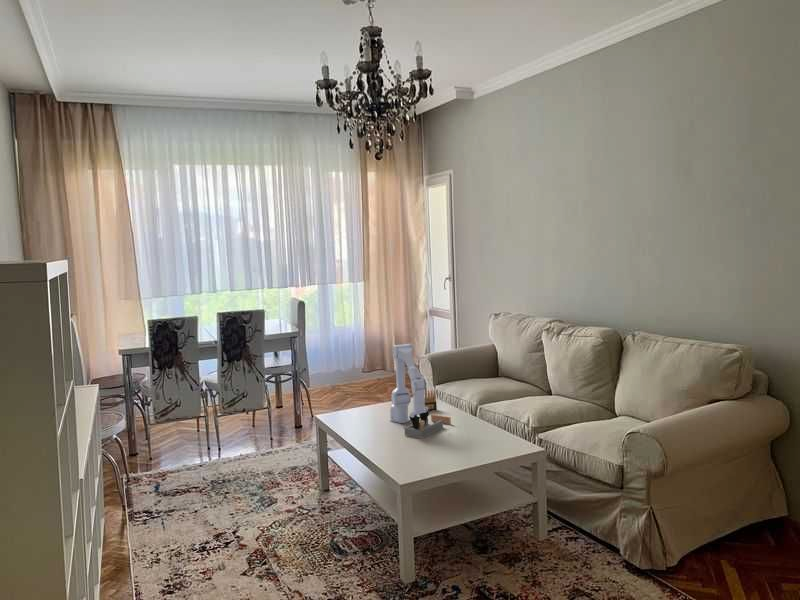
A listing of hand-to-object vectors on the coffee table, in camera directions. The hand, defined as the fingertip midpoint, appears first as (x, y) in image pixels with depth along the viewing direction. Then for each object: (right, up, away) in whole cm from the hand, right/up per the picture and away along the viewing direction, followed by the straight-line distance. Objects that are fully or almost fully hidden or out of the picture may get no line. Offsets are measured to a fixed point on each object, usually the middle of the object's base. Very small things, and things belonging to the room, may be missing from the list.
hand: (419, 427), depth 319 cm
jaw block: (0, -3, 0) cm, 3 cm away
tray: (+2, -3, +4) cm, 5 cm away
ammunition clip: (+6, +1, +42) cm, 43 cm away
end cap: (+12, -1, +18) cm, 21 cm away
